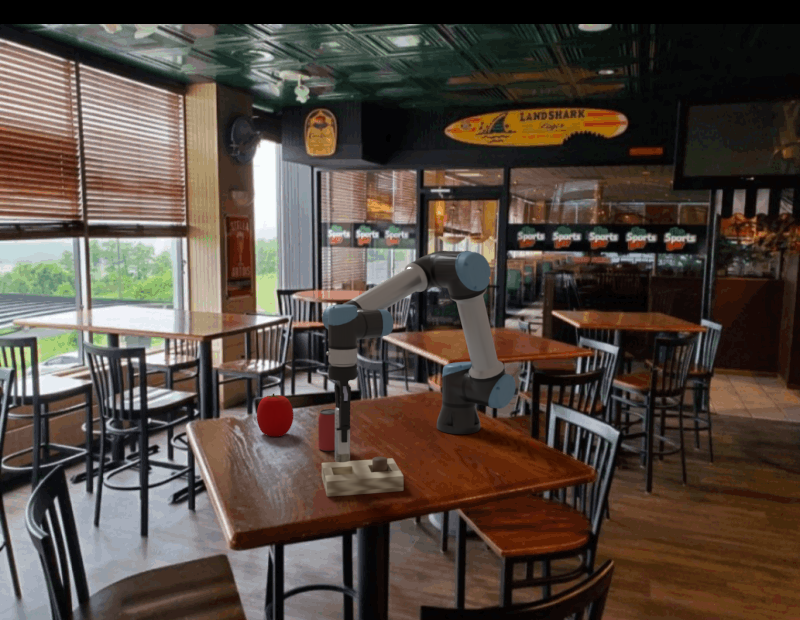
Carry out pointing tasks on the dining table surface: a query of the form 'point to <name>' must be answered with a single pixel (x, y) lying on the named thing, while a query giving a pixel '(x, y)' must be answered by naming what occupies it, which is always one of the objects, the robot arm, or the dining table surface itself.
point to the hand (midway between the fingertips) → (342, 450)
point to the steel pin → (337, 456)
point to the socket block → (361, 477)
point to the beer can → (326, 430)
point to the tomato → (274, 415)
